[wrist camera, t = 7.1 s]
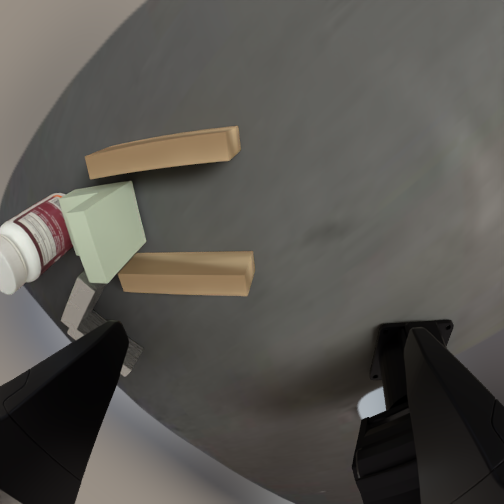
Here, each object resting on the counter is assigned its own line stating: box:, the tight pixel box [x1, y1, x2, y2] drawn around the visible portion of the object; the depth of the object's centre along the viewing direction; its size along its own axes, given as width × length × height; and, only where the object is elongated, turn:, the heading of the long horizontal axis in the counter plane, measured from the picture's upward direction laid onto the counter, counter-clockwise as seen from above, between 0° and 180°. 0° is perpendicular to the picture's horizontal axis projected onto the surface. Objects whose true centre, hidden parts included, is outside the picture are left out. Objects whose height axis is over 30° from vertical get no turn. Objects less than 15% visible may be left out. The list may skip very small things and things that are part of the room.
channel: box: [85, 126, 255, 296], centre depth 19 cm, size 10×9×3 cm
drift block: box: [59, 181, 146, 283], centre depth 19 cm, size 5×6×6 cm
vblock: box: [61, 270, 144, 377], centre depth 26 cm, size 11×6×3 cm, turn 6°
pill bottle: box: [0, 193, 73, 295], centre depth 19 cm, size 5×5×8 cm
